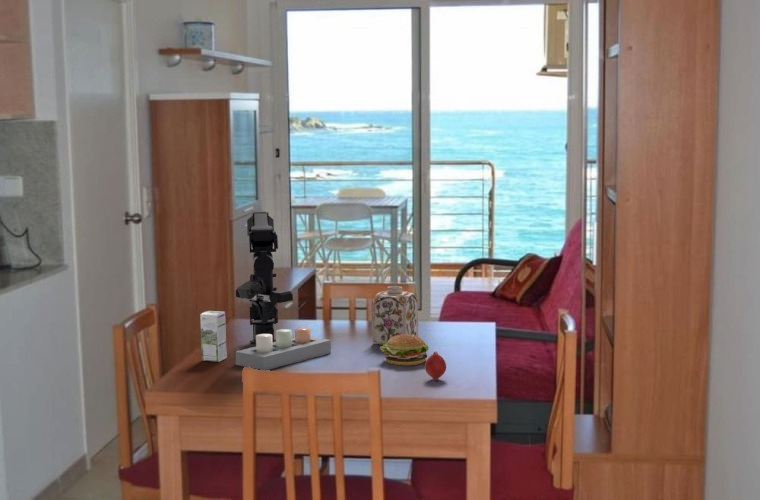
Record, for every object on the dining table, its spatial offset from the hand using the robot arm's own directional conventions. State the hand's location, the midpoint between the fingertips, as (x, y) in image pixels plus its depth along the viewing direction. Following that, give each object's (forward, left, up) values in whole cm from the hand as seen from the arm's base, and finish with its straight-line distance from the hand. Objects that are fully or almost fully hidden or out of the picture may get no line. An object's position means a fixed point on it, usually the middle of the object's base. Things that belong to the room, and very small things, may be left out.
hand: (264, 323), depth 300 cm
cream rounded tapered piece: (0, 0, -10) cm, 10 cm away
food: (+31, +27, -13) cm, 43 cm away
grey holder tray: (0, +8, -12) cm, 14 cm away
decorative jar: (+12, +46, -12) cm, 49 cm away
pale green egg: (0, +8, -10) cm, 13 cm away
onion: (+51, +16, -12) cm, 55 cm away
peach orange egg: (0, +16, -11) cm, 19 cm away
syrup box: (-16, -6, -12) cm, 21 cm away
